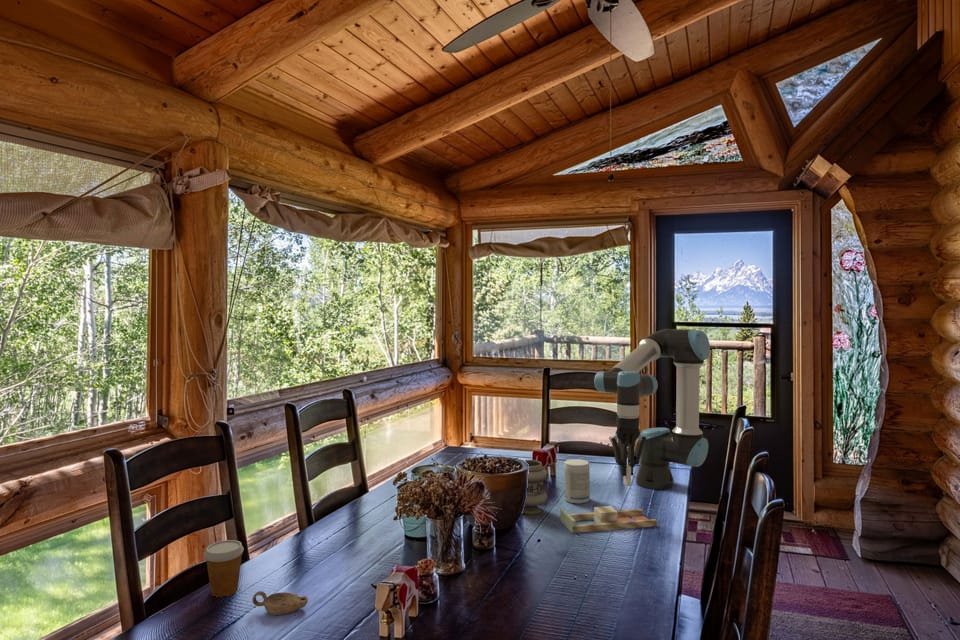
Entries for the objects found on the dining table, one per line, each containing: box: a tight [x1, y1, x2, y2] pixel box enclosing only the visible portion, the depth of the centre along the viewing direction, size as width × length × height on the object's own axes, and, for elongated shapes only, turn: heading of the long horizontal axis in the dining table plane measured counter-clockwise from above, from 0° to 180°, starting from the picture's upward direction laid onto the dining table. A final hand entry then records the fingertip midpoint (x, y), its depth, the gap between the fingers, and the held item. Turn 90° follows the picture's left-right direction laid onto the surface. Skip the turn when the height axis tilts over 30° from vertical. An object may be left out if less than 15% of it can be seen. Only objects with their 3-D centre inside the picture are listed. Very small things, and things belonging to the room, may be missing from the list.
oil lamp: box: [251, 590, 309, 616], centre depth 147 cm, size 13×8×5 cm, turn 91°
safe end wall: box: [559, 508, 576, 534], centre depth 203 cm, size 1×11×4 cm, turn 11°
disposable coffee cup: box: [203, 539, 244, 598], centre depth 157 cm, size 10×10×12 cm
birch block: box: [593, 505, 618, 524], centre depth 205 cm, size 6×6×5 cm
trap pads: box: [617, 514, 649, 522], centre depth 208 cm, size 11×8×1 cm
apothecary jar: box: [521, 459, 548, 518], centre depth 217 cm, size 12×12×18 cm
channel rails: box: [568, 508, 658, 534], centre depth 206 cm, size 30×11×2 cm, turn 101°
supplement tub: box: [563, 458, 591, 505], centre depth 230 cm, size 10×10×15 cm
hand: (627, 484), depth 206 cm, fingers closed
